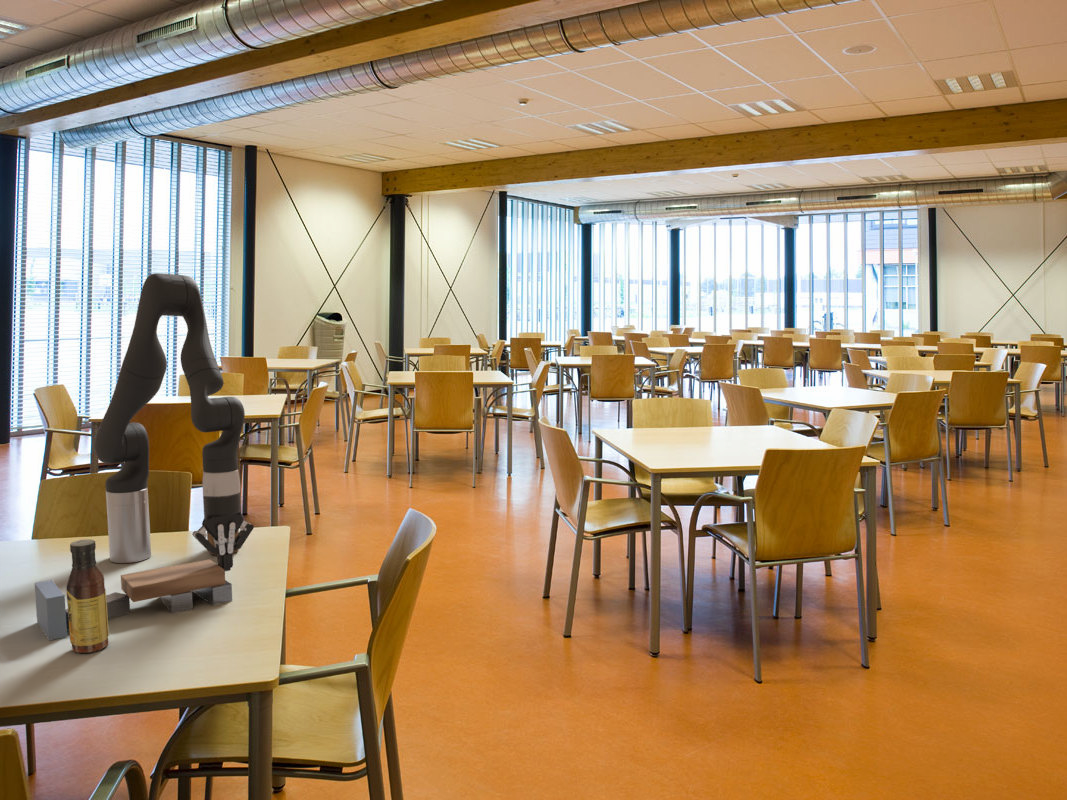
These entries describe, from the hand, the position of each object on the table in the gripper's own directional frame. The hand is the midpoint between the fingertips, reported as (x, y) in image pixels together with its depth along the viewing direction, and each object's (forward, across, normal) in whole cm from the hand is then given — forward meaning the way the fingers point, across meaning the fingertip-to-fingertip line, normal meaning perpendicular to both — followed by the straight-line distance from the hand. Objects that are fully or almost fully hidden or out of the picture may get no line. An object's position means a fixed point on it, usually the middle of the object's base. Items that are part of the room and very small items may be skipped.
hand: (225, 570), depth 189 cm
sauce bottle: (+5, +30, +15) cm, 34 cm away
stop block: (+5, +34, 0) cm, 34 cm away
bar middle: (+5, +10, 0) cm, 12 cm away
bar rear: (+5, +3, 0) cm, 6 cm away
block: (+5, -11, -33) cm, 35 cm away
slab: (+1, +11, 0) cm, 11 cm away
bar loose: (+5, +26, 0) cm, 26 cm away
